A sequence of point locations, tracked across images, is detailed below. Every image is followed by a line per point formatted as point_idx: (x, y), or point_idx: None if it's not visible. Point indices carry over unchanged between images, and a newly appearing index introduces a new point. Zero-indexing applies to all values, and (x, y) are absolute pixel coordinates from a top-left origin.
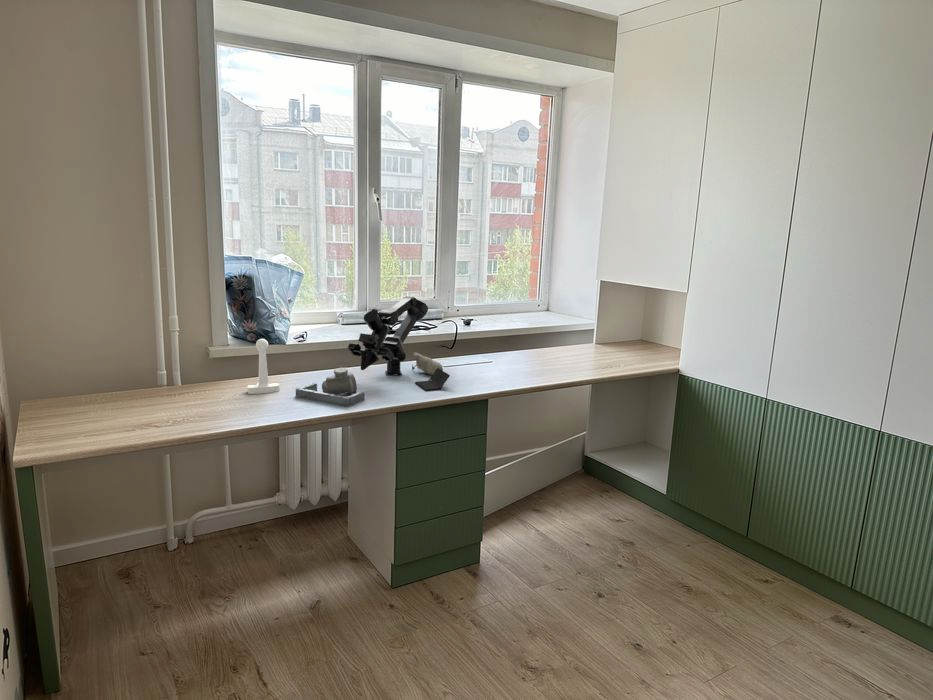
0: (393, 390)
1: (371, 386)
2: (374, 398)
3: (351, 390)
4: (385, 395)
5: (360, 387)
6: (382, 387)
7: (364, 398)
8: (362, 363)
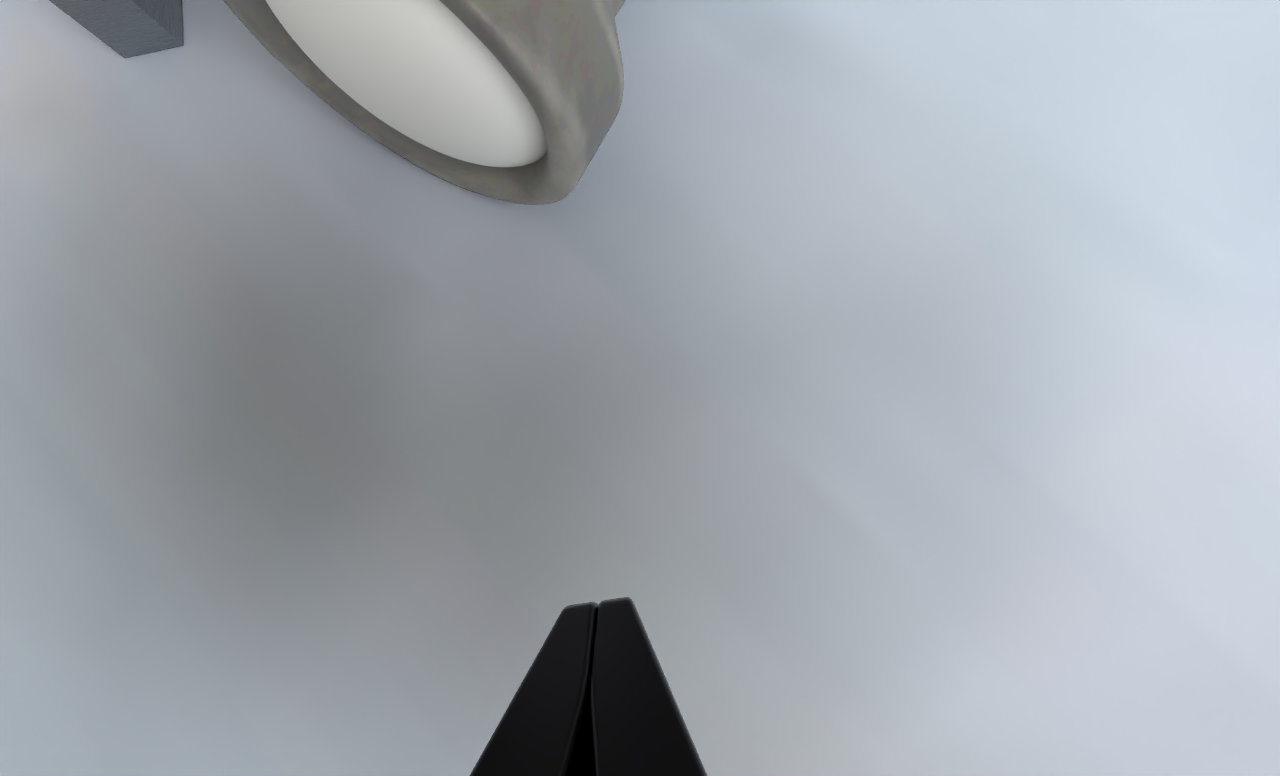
0: (53, 737)
1: (506, 685)
2: (58, 198)
3: None
4: (10, 418)
5: (613, 497)
6: (309, 768)
7: (108, 40)
8: (617, 747)
